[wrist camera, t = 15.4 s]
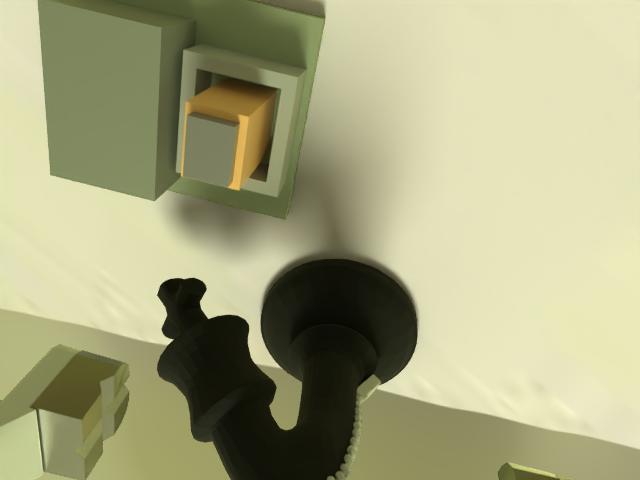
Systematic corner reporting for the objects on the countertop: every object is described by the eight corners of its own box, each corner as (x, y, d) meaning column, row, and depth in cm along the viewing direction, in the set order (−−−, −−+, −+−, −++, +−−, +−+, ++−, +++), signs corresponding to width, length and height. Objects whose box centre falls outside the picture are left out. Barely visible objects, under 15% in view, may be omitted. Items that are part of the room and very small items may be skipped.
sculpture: (367, 405, 53) (344, 709, 31) (164, 307, 50) (-17, 561, 28) (448, 305, 45) (494, 611, 23) (215, 186, 43) (25, 402, 21)
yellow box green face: (277, 90, 37) (244, 121, 29) (267, 152, 39) (234, 196, 32) (226, 78, 37) (179, 105, 29) (219, 140, 40) (174, 181, 32)
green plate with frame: (325, 18, 35) (309, 27, 29) (288, 213, 43) (268, 253, 37) (85, -39, 36) (19, -43, 30) (91, 164, 44) (39, 195, 37)
